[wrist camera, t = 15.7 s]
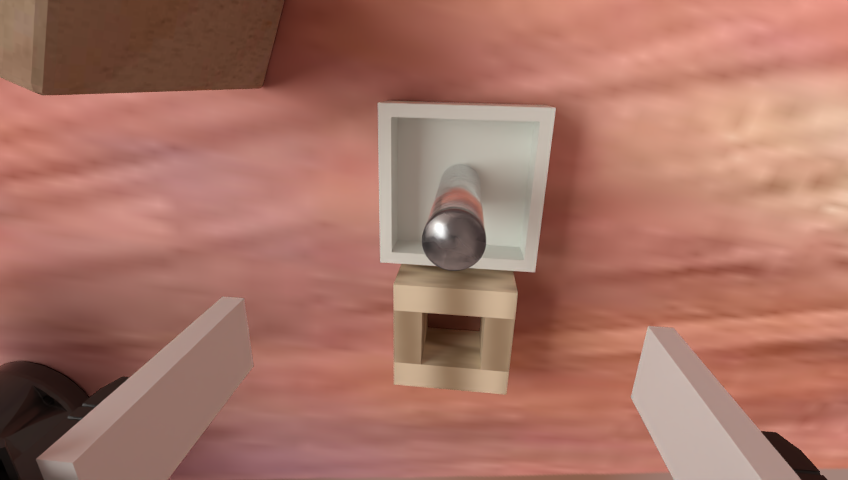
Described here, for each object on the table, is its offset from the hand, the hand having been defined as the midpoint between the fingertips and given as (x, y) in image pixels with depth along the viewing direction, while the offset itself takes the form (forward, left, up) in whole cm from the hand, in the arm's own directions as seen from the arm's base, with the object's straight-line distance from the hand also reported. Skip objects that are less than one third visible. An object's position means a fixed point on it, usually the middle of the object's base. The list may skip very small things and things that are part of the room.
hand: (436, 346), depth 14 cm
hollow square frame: (0, -12, -25) cm, 28 cm away
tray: (0, 0, -25) cm, 25 cm away
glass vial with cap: (0, 0, -24) cm, 24 cm away
